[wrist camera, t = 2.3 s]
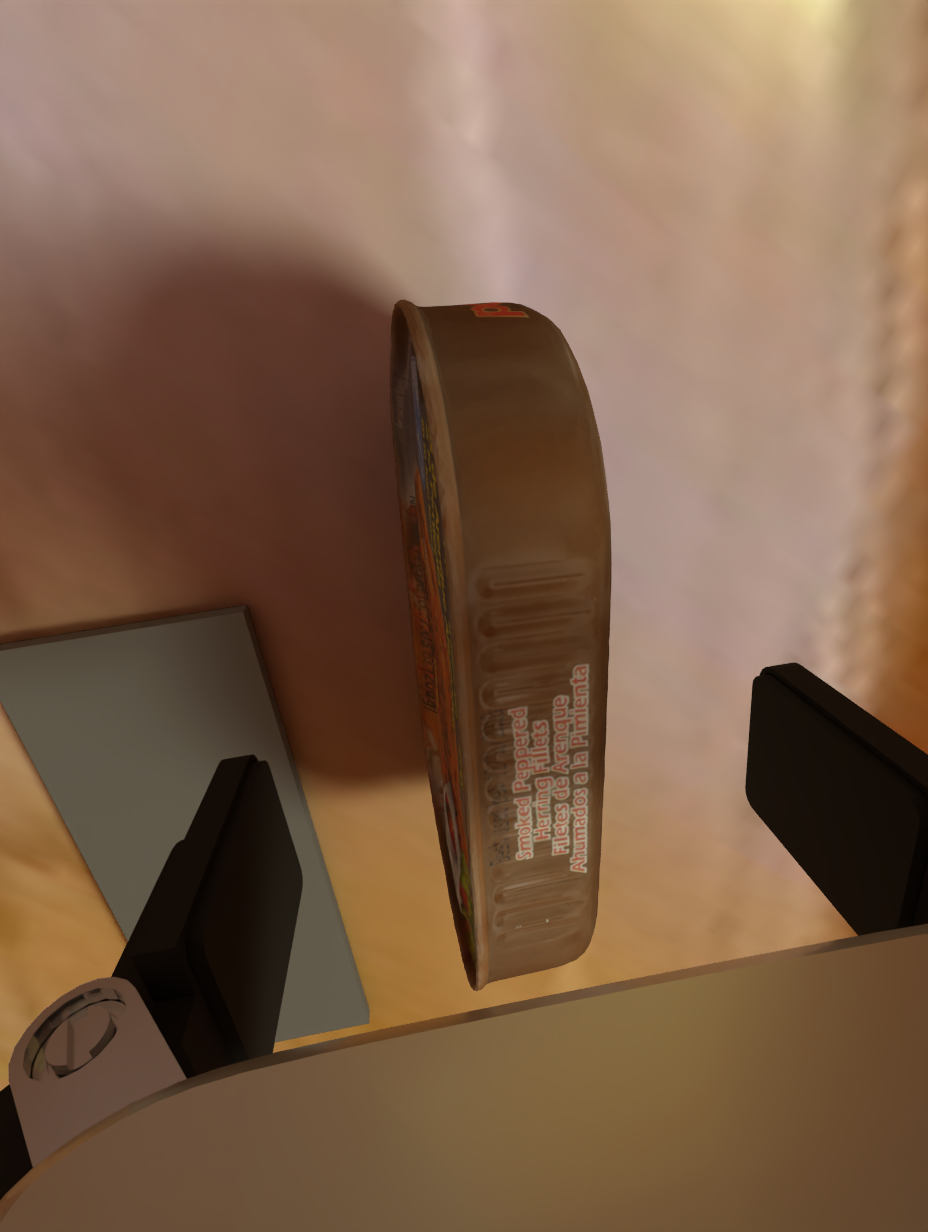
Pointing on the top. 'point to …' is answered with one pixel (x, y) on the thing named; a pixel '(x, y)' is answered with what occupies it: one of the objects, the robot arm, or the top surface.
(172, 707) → the mat
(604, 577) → the tin
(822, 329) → the top surface
